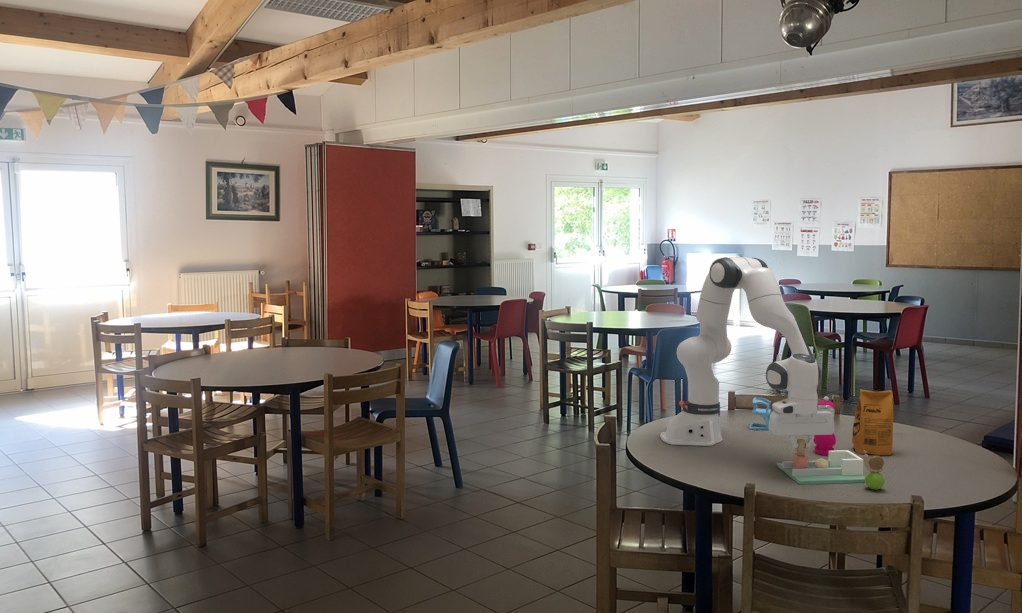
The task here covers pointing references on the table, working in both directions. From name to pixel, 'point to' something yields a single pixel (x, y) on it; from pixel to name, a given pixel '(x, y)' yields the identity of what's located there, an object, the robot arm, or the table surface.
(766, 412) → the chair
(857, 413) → the coffee package
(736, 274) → the robot arm
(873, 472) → the snail figurine
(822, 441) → the pepper mill
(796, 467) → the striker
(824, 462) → the ball
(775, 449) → the table surface
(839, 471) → the pitch
